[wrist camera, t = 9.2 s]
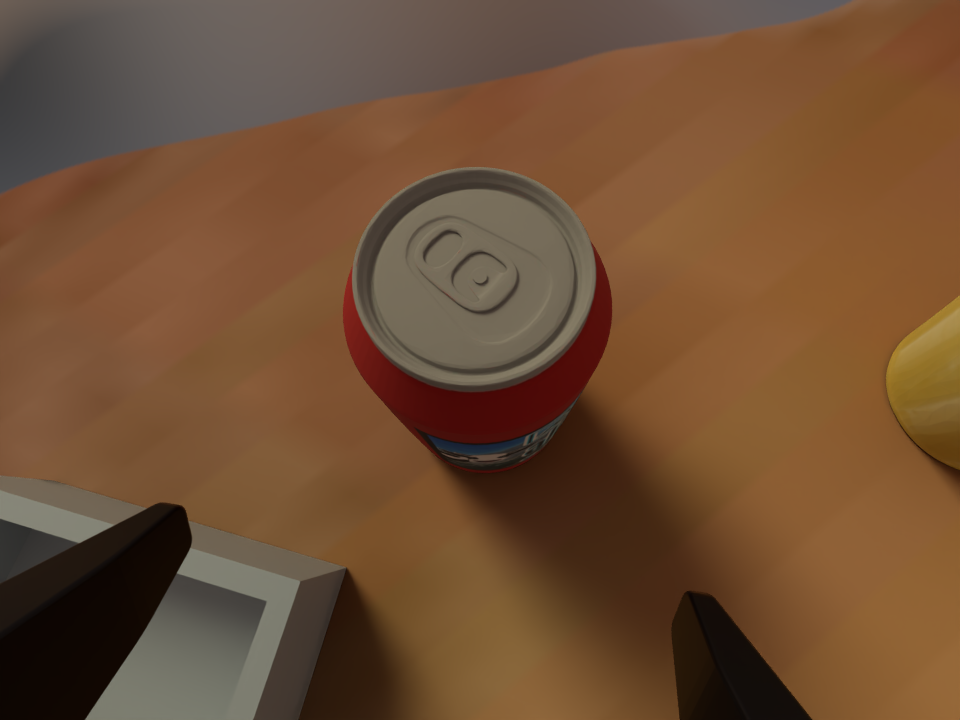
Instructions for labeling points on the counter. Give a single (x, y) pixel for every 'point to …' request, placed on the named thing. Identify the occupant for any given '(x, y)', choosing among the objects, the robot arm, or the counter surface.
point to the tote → (191, 612)
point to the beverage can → (477, 314)
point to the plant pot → (930, 385)
